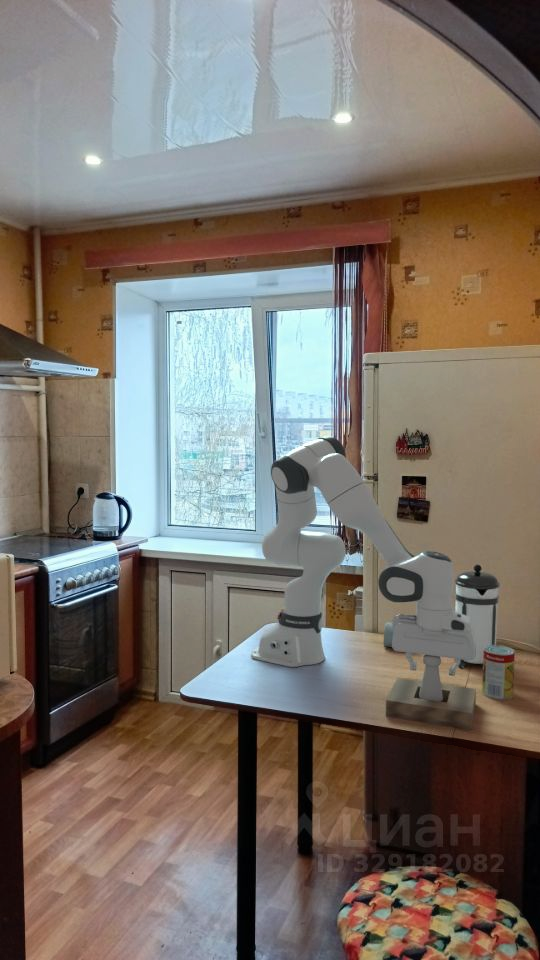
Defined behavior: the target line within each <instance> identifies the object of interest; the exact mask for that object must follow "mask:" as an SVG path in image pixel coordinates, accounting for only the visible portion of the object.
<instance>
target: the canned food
mask: <svg viewBox="0 0 540 960" xmlns="http://www.w3.org/2000/svg"><path fill="white" fill-rule="evenodd" d="M515 654H516V653H515V650H514V649H513V648H511V647H509V646H507V645H506V646H505V645H501V644H496V645H488V646H485V647H484V649H483V664H482V678H481V679H482V680H481V681H482V682H481V683H482V684H481V693H482V694H483V696H485V697H487V698H490V699H495V700H511V699H512V698H513V697H514V680H515V657H516V656H515Z"/></svg>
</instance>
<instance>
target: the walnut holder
mask: <svg viewBox="0 0 540 960" xmlns="http://www.w3.org/2000/svg"><path fill="white" fill-rule="evenodd" d="M421 684H422V680H416V679H415V680H414V679H409V678H408V679H407V678H403V677H402V678H401V677H397V678H396V680H395V681H394V684H393V686H392V688H391V690H390V691H389V693H388V696H387V698H386V699H385V716H386V717H389V718H394V719H396V718H397V719H401V720H407V721H412V722H413V721H414V722H419V723H427V724H433V725H438V726H444V727H445V726H446V727H451V728H458V729H464V730H470V731H471V730H472V727H473V721H474V715H475V708H476V702H477V701H476V700H477V699H476V698H477V688H473V687H466V686H458V685H451V684H444V683H441V688H442V695H443V701H442V702H438V701H432V700H425V699H420V698H419V693H420V688H421Z"/></svg>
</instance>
